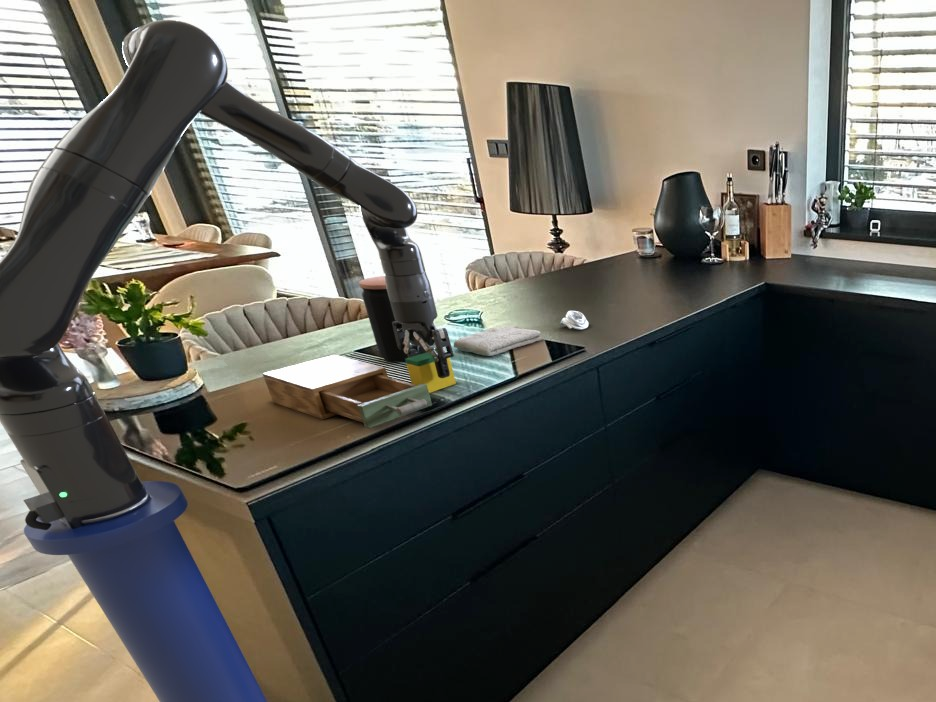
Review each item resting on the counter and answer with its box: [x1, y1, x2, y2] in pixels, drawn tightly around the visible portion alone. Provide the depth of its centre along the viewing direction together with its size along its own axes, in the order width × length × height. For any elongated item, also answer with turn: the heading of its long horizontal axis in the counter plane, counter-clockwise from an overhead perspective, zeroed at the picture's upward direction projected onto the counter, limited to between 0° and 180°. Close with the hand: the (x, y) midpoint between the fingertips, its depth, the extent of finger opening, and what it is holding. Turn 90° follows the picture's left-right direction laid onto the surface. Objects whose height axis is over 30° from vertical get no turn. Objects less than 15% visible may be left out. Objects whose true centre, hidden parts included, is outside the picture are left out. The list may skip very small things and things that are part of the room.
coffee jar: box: [358, 275, 426, 363], centre depth 145 cm, size 11×11×18 cm
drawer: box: [319, 374, 433, 429], centre depth 117 cm, size 20×12×4 cm, turn 63°
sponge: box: [405, 350, 457, 394], centre depth 130 cm, size 7×4×7 cm, turn 153°
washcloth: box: [453, 325, 543, 357], centre depth 158 cm, size 12×18×3 cm, turn 155°
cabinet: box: [262, 354, 389, 420], centre depth 124 cm, size 17×14×6 cm
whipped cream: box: [559, 310, 589, 330], centre depth 174 cm, size 8×7×5 cm
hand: (431, 373), depth 131 cm, fingers open, 8 cm apart
